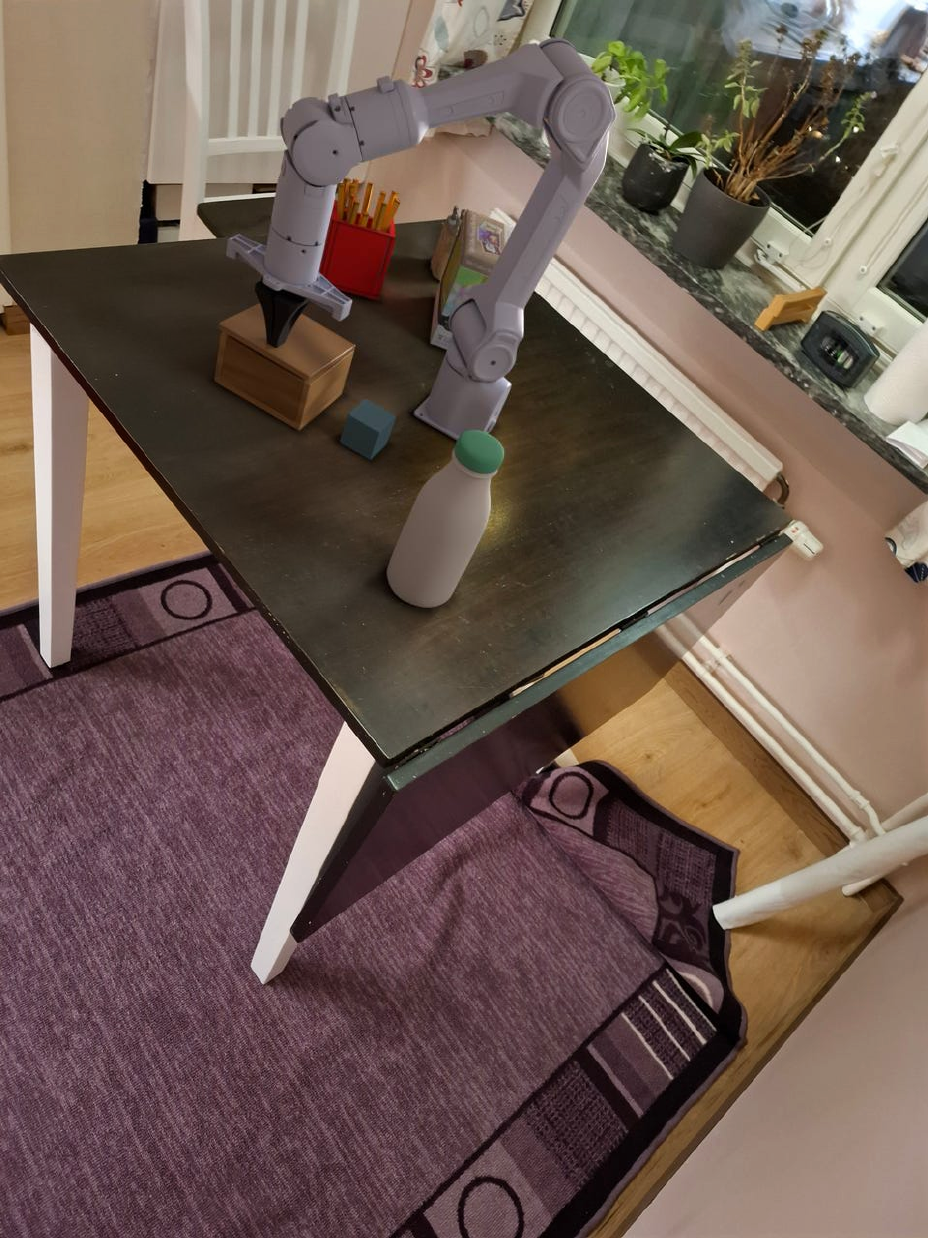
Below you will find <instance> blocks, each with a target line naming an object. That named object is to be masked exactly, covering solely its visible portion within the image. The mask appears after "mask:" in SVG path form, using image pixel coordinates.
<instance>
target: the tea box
mask: <svg viewBox="0 0 928 1238" xmlns="http://www.w3.org/2000/svg"><path fill="white" fill-rule="evenodd" d="M465 210H466V212H465V215H464V217H463V220H462V222H461V225H460V228H459V231H458V234H457V237H456V239H455V242H454V245H453V248H452V250H451V253H450V256H449V258H448V261H447V264H446V267H445V270H444V273H443V275H442V278H441V281H440V280H439V284H438V287H437V290H436V292H435V299H434V300H435V301H434V307H433V316H432V323H431V332H430V344H431V345H433V346H436V347H438V348H441V349H442V350H446V351H447V349H448V347H449V345H450V344H449V343H450V340H451V338H452V333H451V331H450V329H449V317H450V314H451V312H452V310H453V309H454V308H455V306H456V305H457V304H459V303H460V302H461V301H462V300H464V299H465V298H466V296H467V295H468V293H469V292H470V290H471V288H472V286H474V285H477V284H483V283H486V281H487V279H488V277H489V275H490V273H491V271H492V269H493V268H494V266H495V264H496V262H497V260H498V258H499V256H500V254H501V252H502V250H503V248H504V246H505V245H506V243H507V241H508V239H509V237H510V235H511V233H512V231H513V229H514V227H515V226H512V225H510V224H507V223H504V222H502V221H500V220H497V219H494V218H492V217H489V216H487V215H484V214H483V213H479V212H477V211H473V210H471V209H469V208H467V209H465Z"/></svg>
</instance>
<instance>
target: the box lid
mask: <svg viewBox="0 0 928 1238" xmlns="http://www.w3.org/2000/svg"><path fill="white" fill-rule="evenodd" d="M217 328H218V330H219V331H222V332H225V333H227V334H228V335H230V336H232V337H234V338H235V339H237V340H239V341H240V342H242V343H244V344H245V345H247V346H249V347H251V348H252V349H254V350H256V351H257V352H259V353H261V354H262V355H264V356H266V357H268V358H269V359H271V360H273V361H274V362H276V363H278V364H279V365H281V366H283V367H285V368H286V369H288V370H290V371H291V372H293V373H295V374H296V375H298V376H300V377H302V378H303V379H305V380H307V381H309V380H311V379H312V378H314V377H315V376H317V375H318V374H320V373H321V372H323V371H324V370H326V369H327V368H328V367H330V366H331V365H333V364H334V363H336V362H337V361H339V360H340V359H342V358H343V357H345V356H346V355H348V354H349V353H350V352H352V351H353V350H354V351H355V349H356V344H354V343H352V342H350V341H349V340H347V339H345V338H343V337H342V336H341V335H339V334H337V333H335V332H333V331H332V330H330V329H329V328H327V327H325V326H323V325H322V324H320V323H318V322H316V321H315V320H313V319H312V318H310V317H308V316H306V315H305V314H303V313H302V314H301V315H300V316H299V318H298V319H297V321H296V322H295V324H294V326H293V327H292V329H291V331H290V333H289V335H288V337H287V340H286V342H285V343H284V344H282V345H281V346H280V347H278V348H275V347H273V346H271V345H270V344H268V343H267V340H266V328H265V321H264V315H263V311H262V308H261V305H260V302H259V303H257V304H255V305H253V306H251V307H249V308H246V309H244V310H243V311H241V312H239V313H237V314H234V315H233V316H231V317H229V318H227V319H225V320H223V321H220V322H219V323H218V326H217Z"/></svg>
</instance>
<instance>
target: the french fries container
mask: <svg viewBox="0 0 928 1238" xmlns="http://www.w3.org/2000/svg"><path fill="white" fill-rule="evenodd" d="M359 183H360V180H359V179H358V178H354V177H353V178H352V179H351V178H350V177H347V176H346V177H345V178H344V179H343V180H342V182H340V183H338V184H337V200H336V199H335V200H334V205H333V209H332V213H331V218H330V222H329V227H328V231H327V235H326V240H325V245H324V249H323V253H322V258H321V262H320V267H319V271H318V272H319V273H320V274H321V275H322V276H323V277H325V278H326V279H327V280H328V281H329V282H330V283H331V284H332V285H333V286H334V287H335V288H337V289H338V290H339V291H340V292H344V293H348V294H351V295H355V296H359V297H363V298H367V299H371V300H374V301H379V298H380V294H381V290H382V287H383V284H384V281H385V278H386V274H387V270H388V267H389V265H390V260H391V257H392V256H391V255H392V253H393V250H394V247H395V242H396V240H397V236H396V227H395V221H394V218H395V215H396V213H397V211H398V210H399V207H400V205H401V200H400V199H399V196H400V193H399V192H398V191H397V190H391V192H390V195H389V199H388V202H387V201H385V200H386V196H387V192H386V191H384V190H380V191H379V194H378V198H377V203H376V206H375V209H374V214H373V216H371V215H370V213H369V207H370V203H371V199H372V194H373V190H374V186H375V183H374V182H371V181H368V182H367V185H366V188H365V193H364V198H363V202H362V207H361V211H360V212H359V208H360V205H361V200H360V199H358V195H357V192H358V186H359Z"/></svg>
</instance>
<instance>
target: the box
mask: <svg viewBox="0 0 928 1238" xmlns="http://www.w3.org/2000/svg"><path fill="white" fill-rule="evenodd" d="M354 353H355V349H354V350H353V351H352V352H350V353H349V354H348V355H346V356H345V357H343V358H342V359H340V360H339V361H337V362H336V363H334V364H333V365H331V366H330V367H328V368H327V369H326V370H324V371H323V372H321V373H320V374H318V375H317V376H315V377H314V378H312V379H311V380H309V381H307V380H305V379H303V378H302V377H300V376H298V375H296V374H295V373H293V372H291V371H290V370H288V369H286V368H285V367H283V366H281V365H279V364H278V363H276V362H274V361H273V360H271V359H269V358H268V357H266V356H264V355H262V354H261V353H259V352H257V351H256V350H254V349H252V348H251V347H249V346H247V345H245V344H244V343H242V342H240V341H239V340H237V339H235V338H234V337H232V336H230V335H228V334H227V333H225V332H223V331H222V332H221V333H220V337H219V346H218V350H217V358H216V359H217V360H216V364H215V365H216V366H215V371H214V372H215V373H214V382H215V383H217V384H218V385H220V386H222V387H224V388H225V389H227V390H228V391H230V392H232V393H234V394H235V395H237V396H239V397H241V398H243V399H244V400H245V401H247V402H249V403H250V404H253V405H254V406H256V407H257V408H258V409H261V410H263V411H264V412H266V413H268V414H269V415H271V416H273V417H275V418H276V419H278V420H280V421H281V422H283V423H285V424H287V425H288V426H290V427H292V428H293V429H295V430H296V431H301V430H302V429H303V428H305V426H307V425H308V424H309V423H310V422H311V421H313V420H314V419H315V418H316V417H317V416H318V415H320V414H321V413H322V412H324V410H326V408H328V407H329V406H330V405H331V404H333V403H334V402H335V401H336V400H337V399H338V398H339V397H341V396H342V394H343V391H344V387H345V384H346V381H347V377H348V374H349V371H350V367H351V362H352V359H353V356H354Z"/></svg>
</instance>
